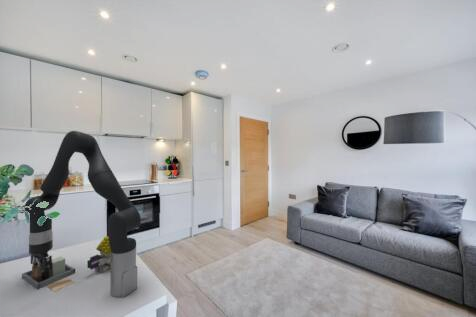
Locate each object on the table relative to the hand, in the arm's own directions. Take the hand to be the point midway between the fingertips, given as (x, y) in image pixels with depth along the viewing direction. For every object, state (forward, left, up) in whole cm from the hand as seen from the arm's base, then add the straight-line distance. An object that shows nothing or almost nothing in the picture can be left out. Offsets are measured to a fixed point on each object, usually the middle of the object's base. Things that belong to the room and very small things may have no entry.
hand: (41, 276), depth 88 cm
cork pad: (-12, -2, -2) cm, 12 cm away
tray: (0, -3, -2) cm, 3 cm away
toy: (-16, -17, -2) cm, 24 cm away
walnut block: (0, 0, -1) cm, 1 cm away
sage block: (0, -6, -1) cm, 6 cm away
